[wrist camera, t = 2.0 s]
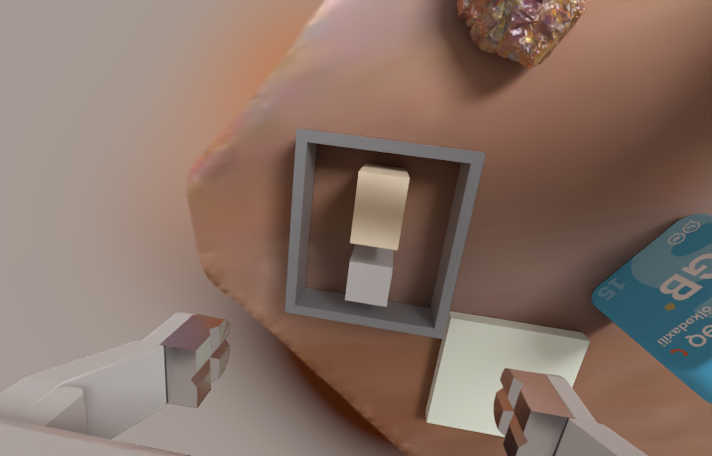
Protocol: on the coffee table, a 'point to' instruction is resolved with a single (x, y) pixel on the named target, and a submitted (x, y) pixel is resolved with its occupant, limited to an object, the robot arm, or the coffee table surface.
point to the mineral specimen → (520, 26)
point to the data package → (669, 300)
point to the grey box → (369, 275)
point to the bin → (395, 313)
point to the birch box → (379, 206)
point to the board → (493, 365)
